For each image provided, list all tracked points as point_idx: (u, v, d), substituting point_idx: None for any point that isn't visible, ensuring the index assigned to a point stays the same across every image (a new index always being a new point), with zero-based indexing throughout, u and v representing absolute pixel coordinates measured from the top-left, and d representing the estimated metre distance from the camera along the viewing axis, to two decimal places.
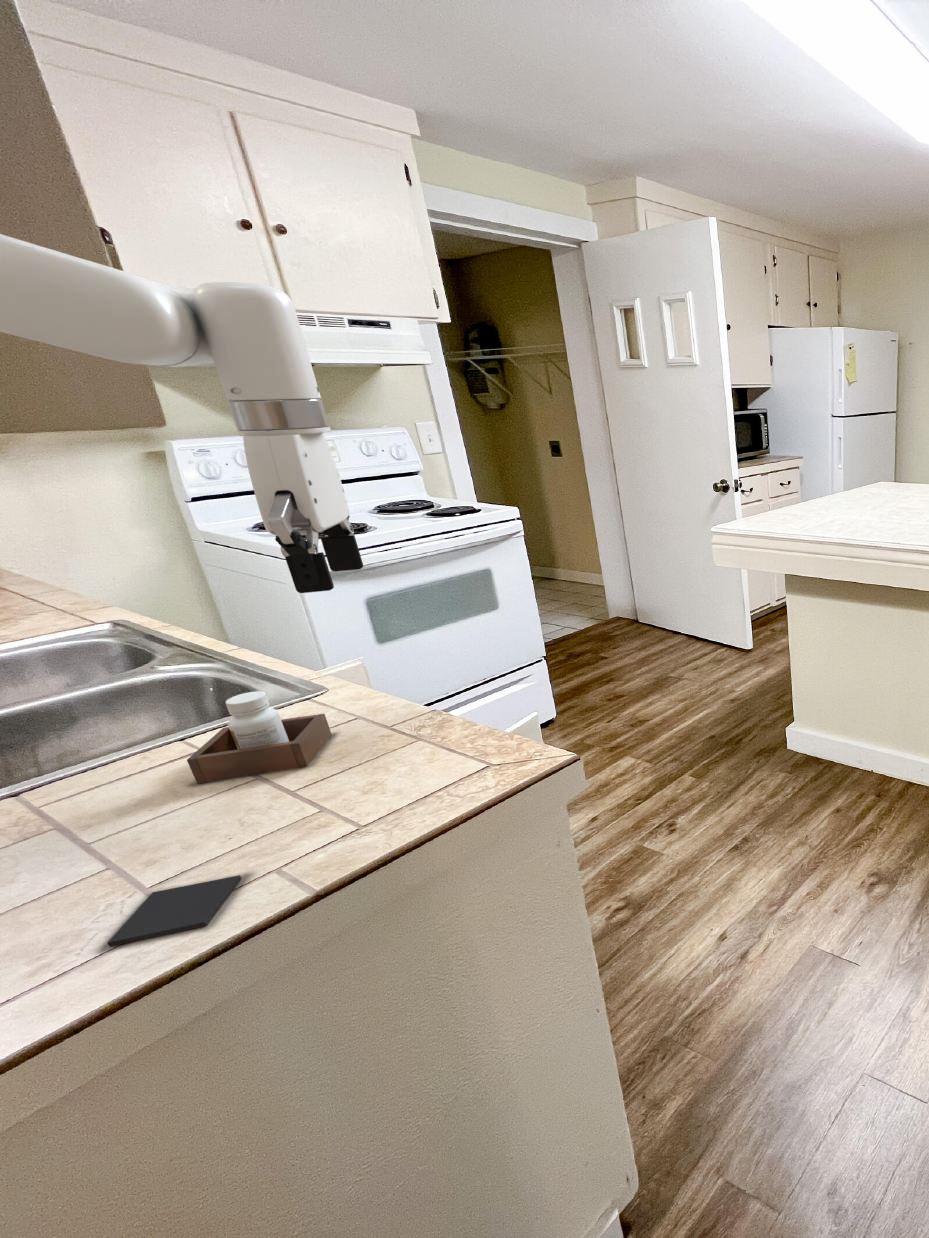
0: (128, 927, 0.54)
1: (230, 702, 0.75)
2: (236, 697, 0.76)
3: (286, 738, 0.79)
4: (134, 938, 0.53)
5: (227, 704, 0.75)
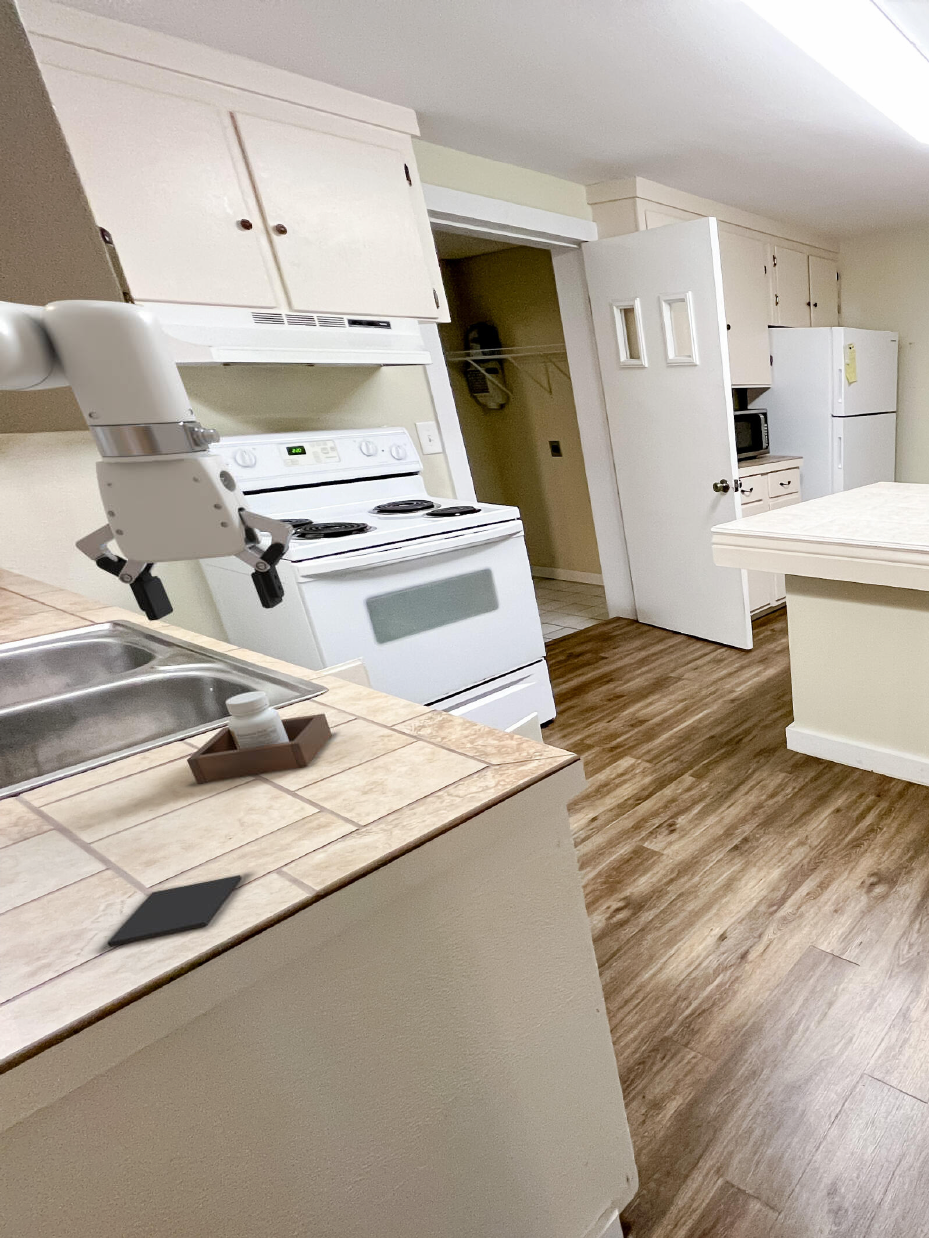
0: (128, 927, 0.54)
1: (230, 702, 0.75)
2: (236, 697, 0.76)
3: (286, 738, 0.79)
4: (134, 938, 0.53)
5: (227, 704, 0.75)
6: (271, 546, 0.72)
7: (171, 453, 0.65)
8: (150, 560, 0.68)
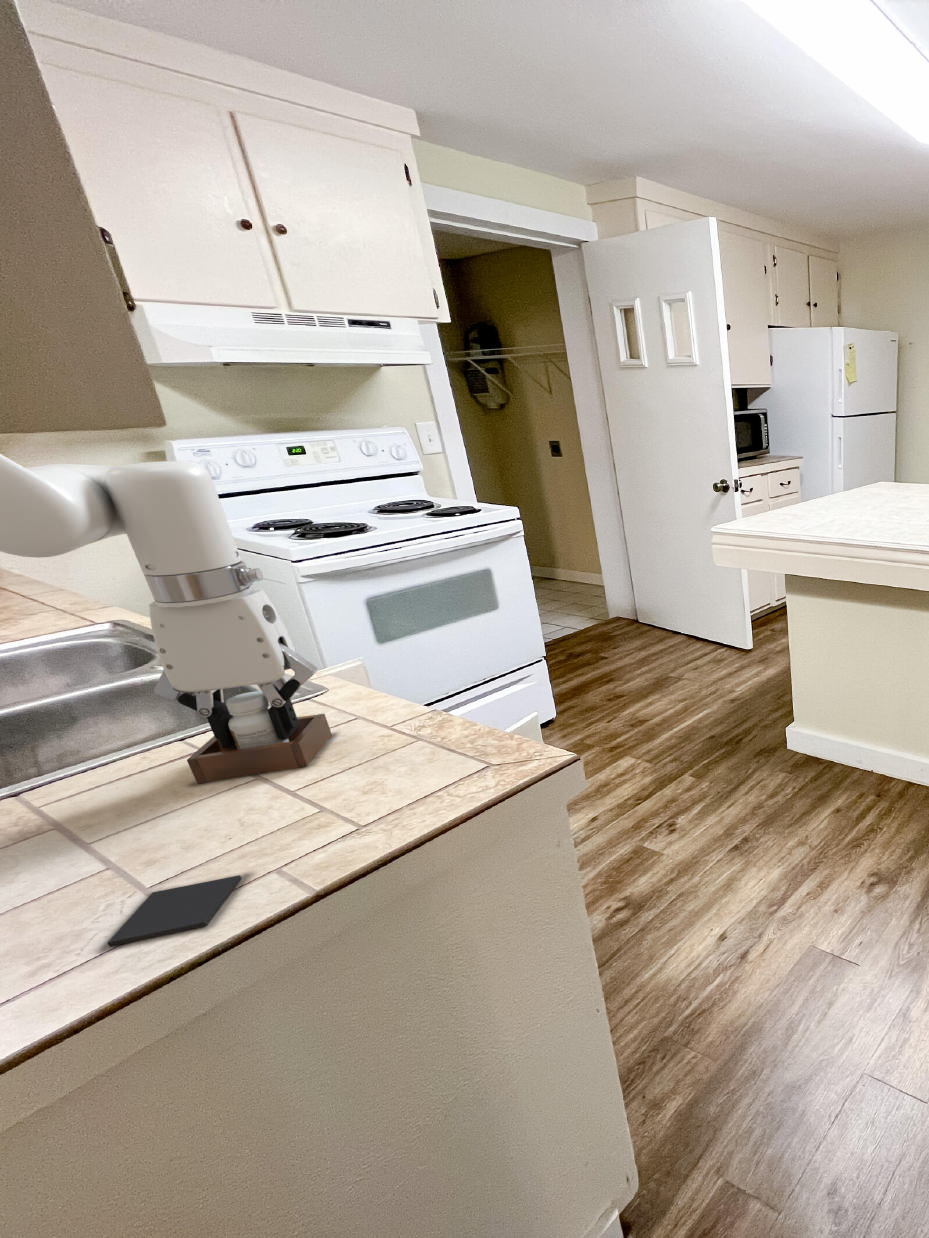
0: (128, 927, 0.54)
1: (231, 702, 0.75)
2: (236, 697, 0.76)
3: None
4: (134, 938, 0.53)
5: (227, 704, 0.75)
6: (287, 683, 0.77)
7: (219, 596, 0.70)
8: (196, 690, 0.73)
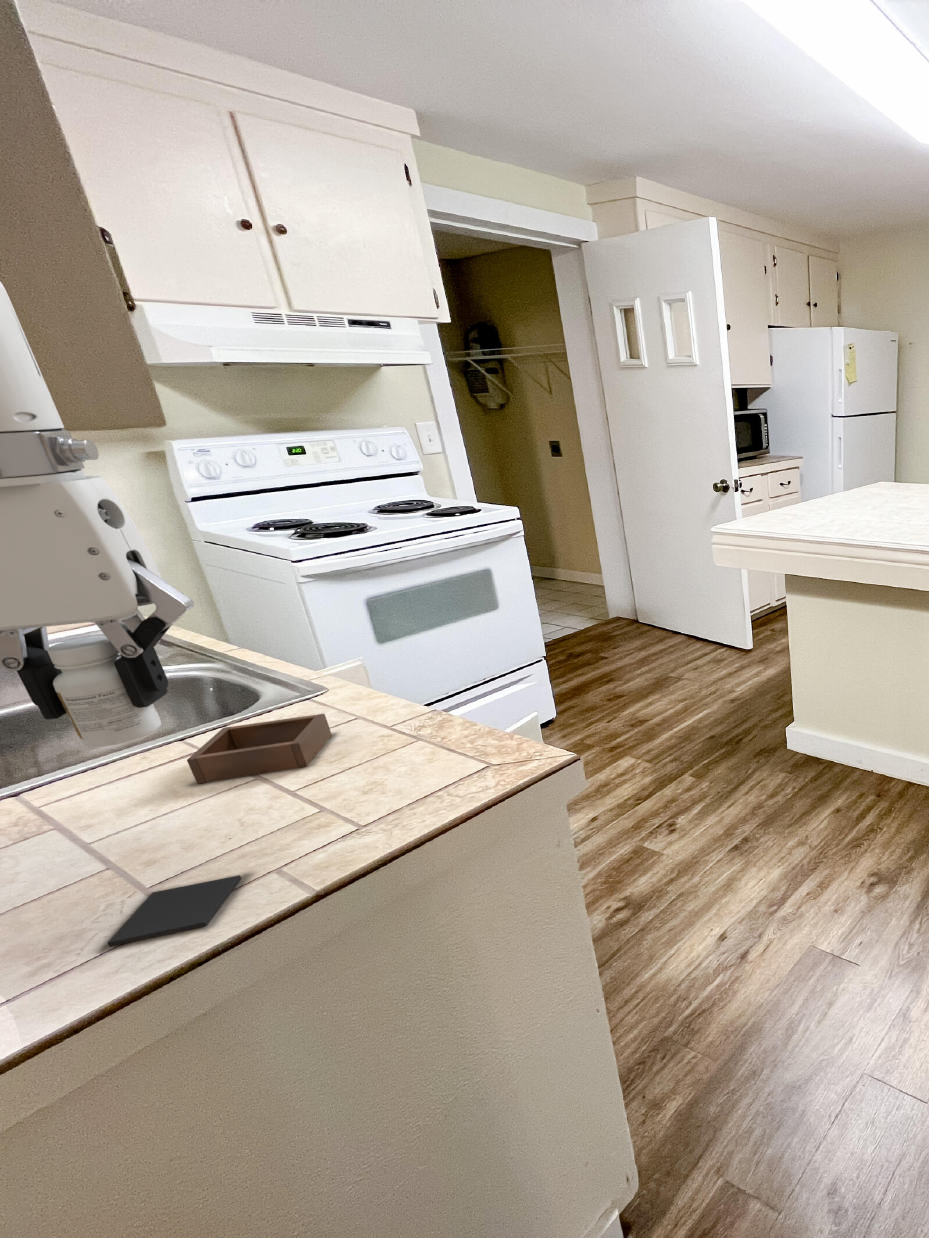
0: (128, 927, 0.54)
1: (54, 649, 0.49)
2: (67, 643, 0.51)
3: (150, 706, 0.54)
4: (134, 938, 0.53)
5: (49, 652, 0.49)
6: (144, 622, 0.51)
7: (18, 476, 0.45)
8: None
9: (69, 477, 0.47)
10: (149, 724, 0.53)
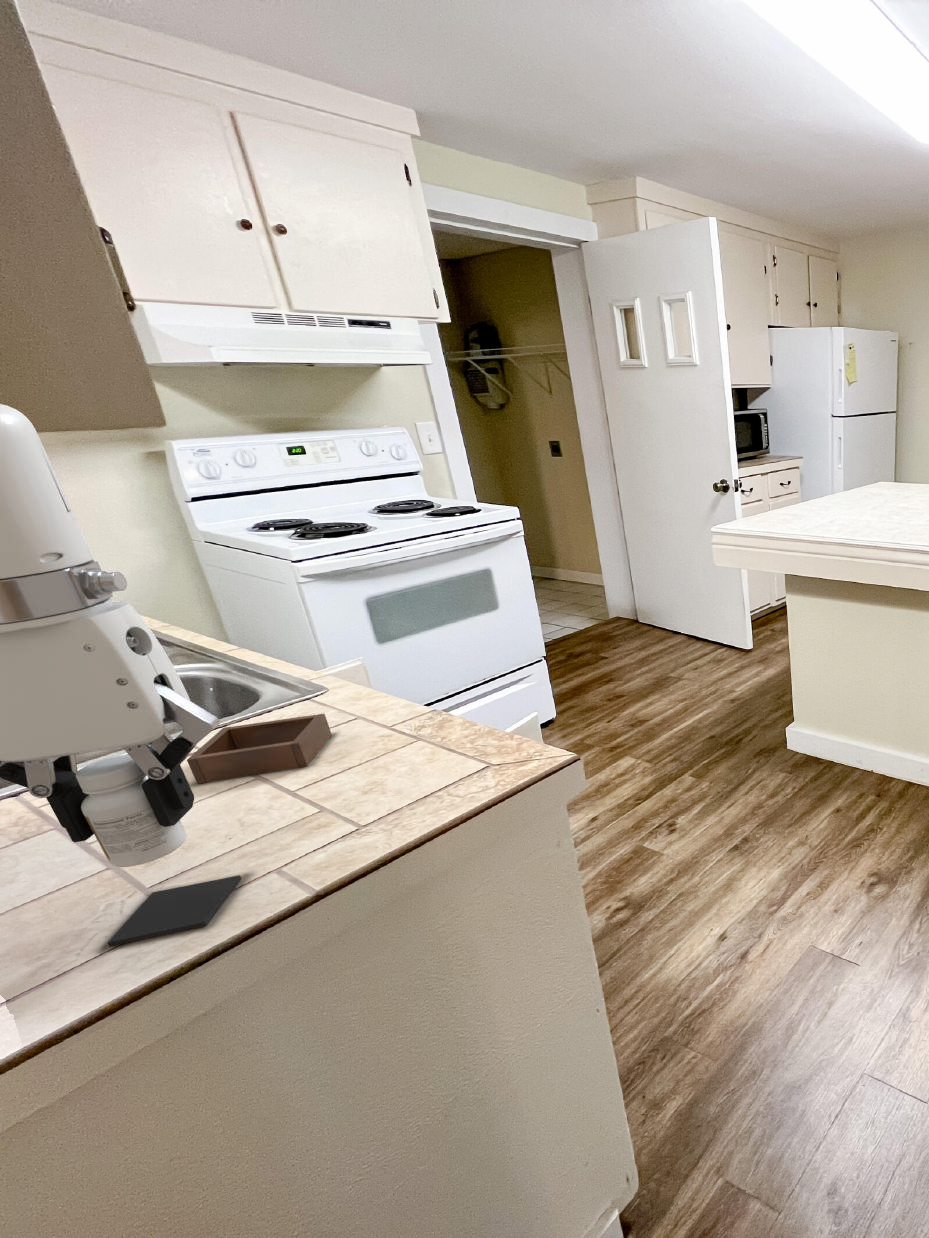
0: (128, 927, 0.54)
1: (83, 775, 0.50)
2: (95, 765, 0.51)
3: None
4: (134, 938, 0.53)
5: (77, 777, 0.50)
6: (171, 744, 0.51)
7: (48, 616, 0.45)
8: (24, 759, 0.47)
9: (98, 609, 0.47)
10: (175, 840, 0.54)
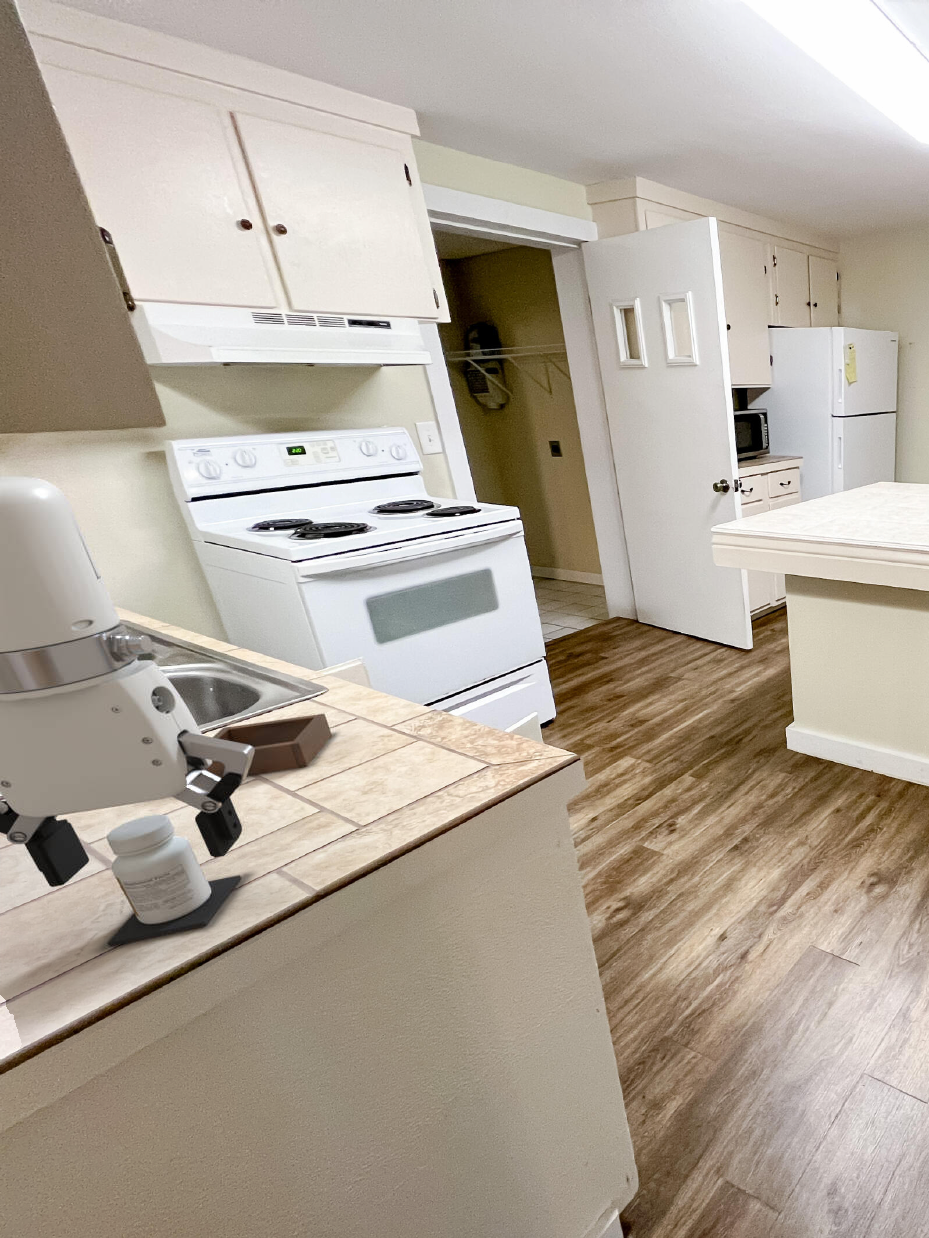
0: (128, 927, 0.54)
1: (114, 837, 0.52)
2: (125, 826, 0.53)
3: (201, 878, 0.56)
4: (134, 938, 0.53)
5: (108, 840, 0.52)
6: (223, 779, 0.53)
7: (78, 681, 0.46)
8: (51, 814, 0.49)
9: (125, 671, 0.49)
10: (201, 896, 0.56)
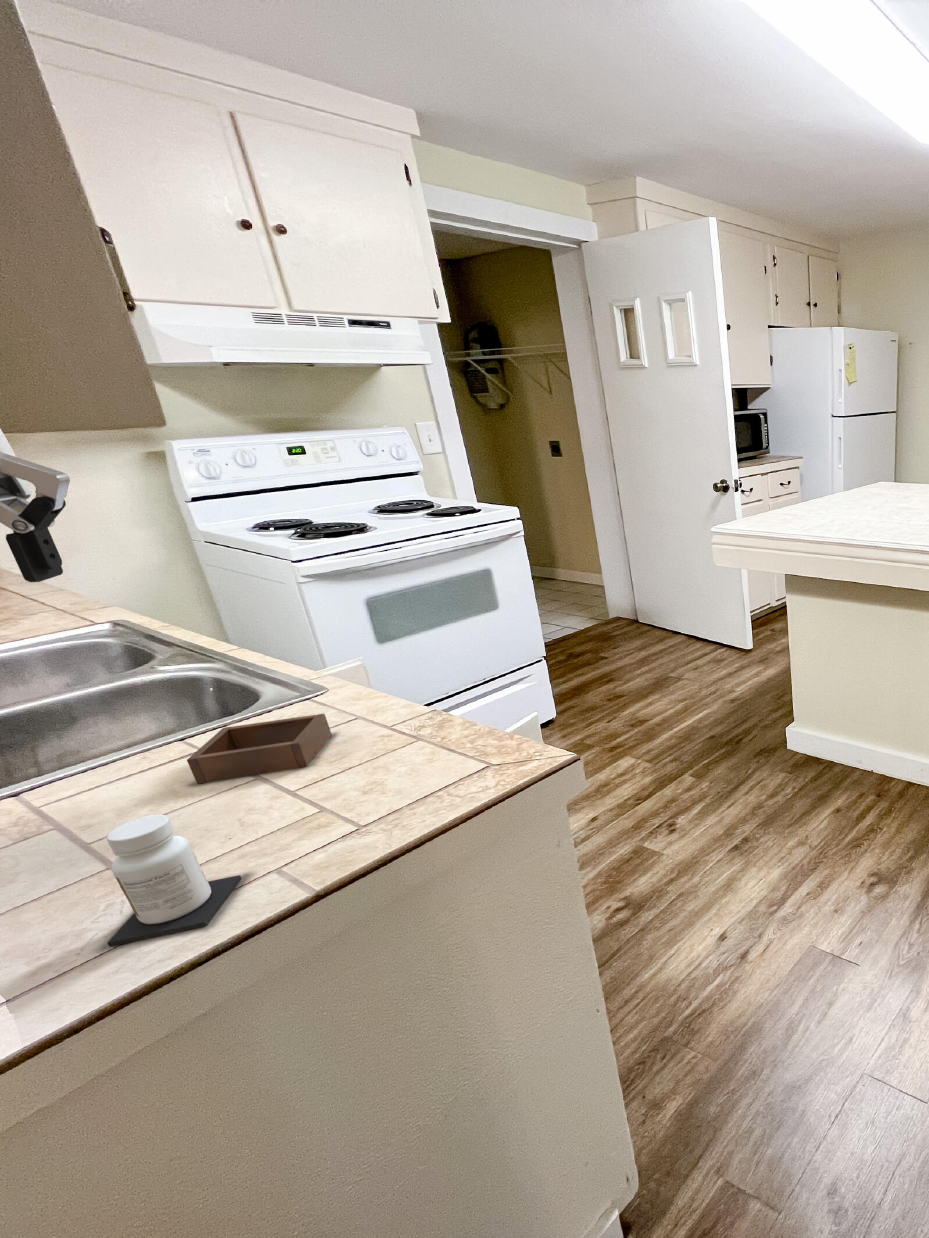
0: (128, 927, 0.54)
1: (114, 837, 0.52)
2: (124, 826, 0.53)
3: (201, 878, 0.56)
4: (134, 938, 0.53)
5: (108, 840, 0.52)
6: (34, 500, 0.55)
7: None
8: None
9: None
10: (201, 896, 0.56)
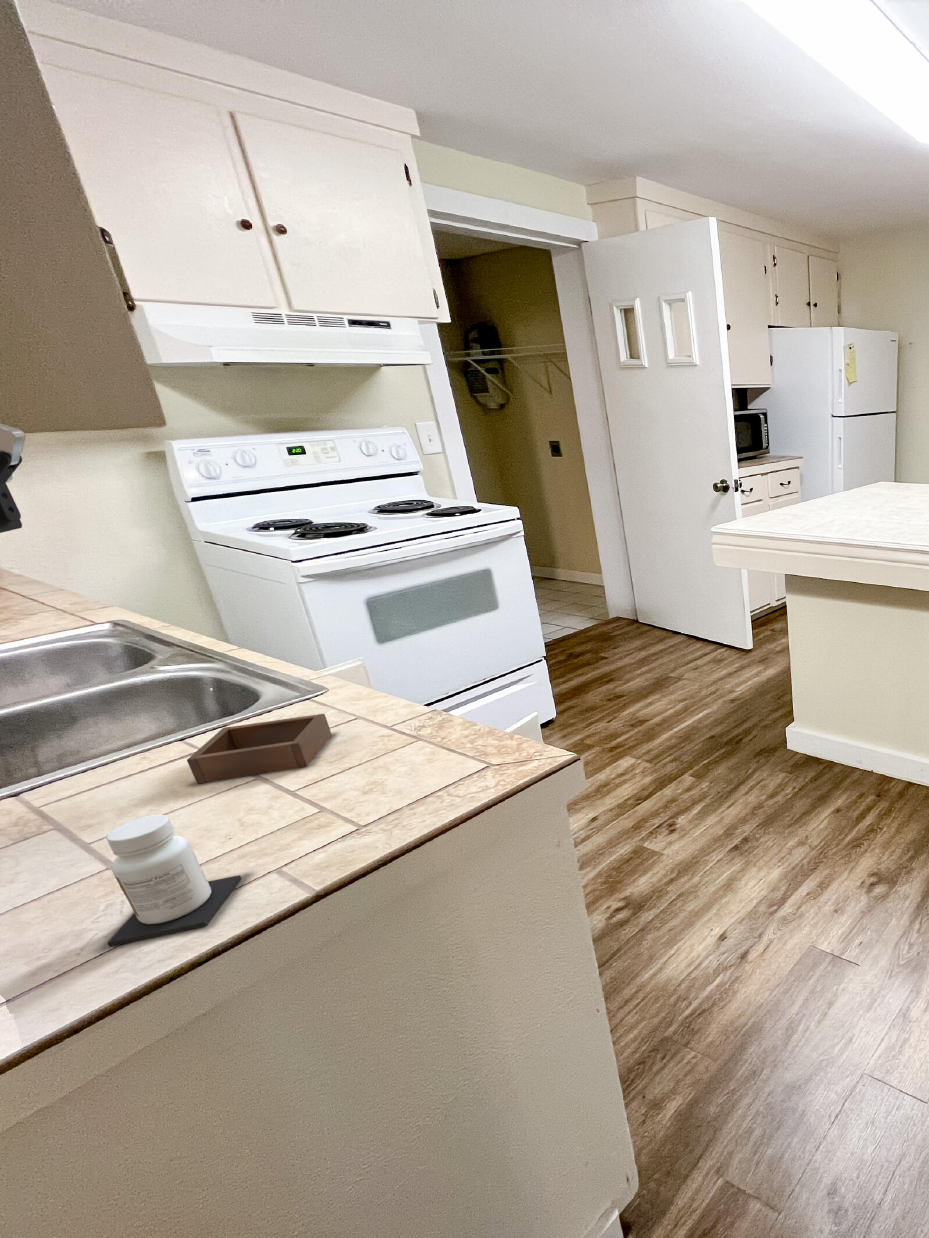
0: (128, 927, 0.54)
1: (114, 837, 0.52)
2: (124, 827, 0.53)
3: (201, 878, 0.56)
4: (134, 938, 0.53)
5: (108, 840, 0.52)
6: None
7: None
8: None
9: None
10: (201, 896, 0.56)
